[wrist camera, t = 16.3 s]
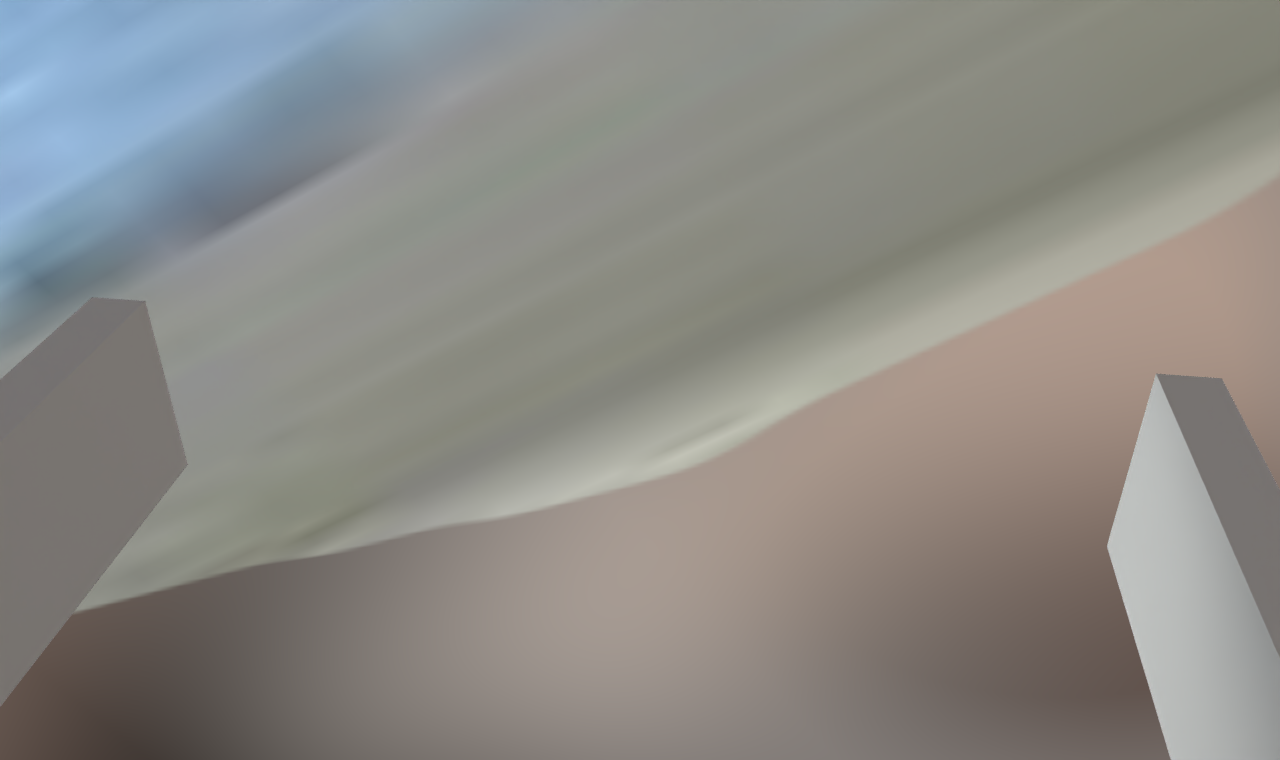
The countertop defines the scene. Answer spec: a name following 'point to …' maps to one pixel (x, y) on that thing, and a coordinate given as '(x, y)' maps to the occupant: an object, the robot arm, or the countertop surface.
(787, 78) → the countertop surface
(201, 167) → the countertop surface
